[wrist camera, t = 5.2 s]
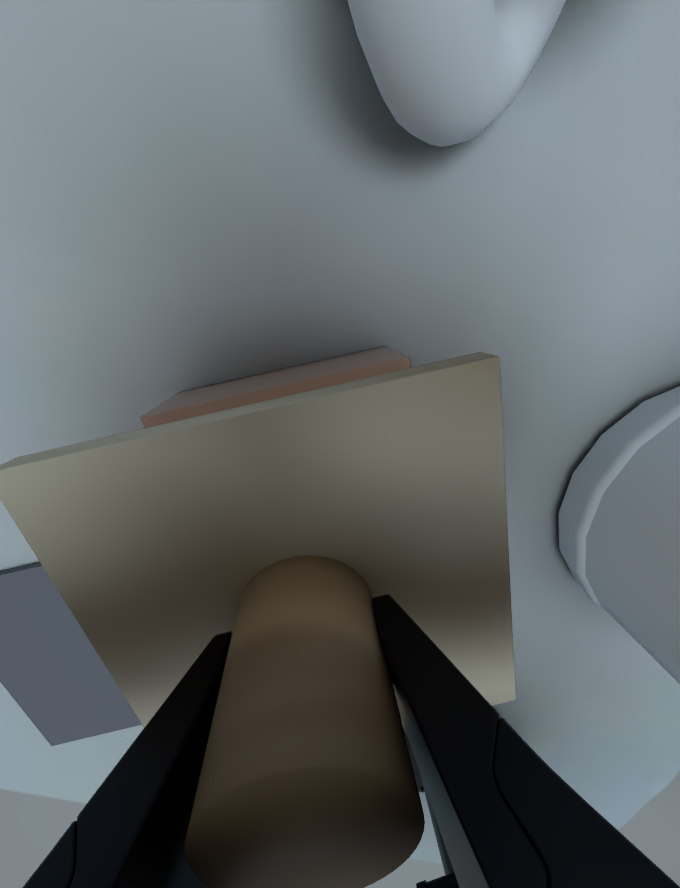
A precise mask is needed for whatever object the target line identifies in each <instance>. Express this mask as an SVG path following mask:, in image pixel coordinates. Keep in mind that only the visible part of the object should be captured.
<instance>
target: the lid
mask: <svg viewBox="0 0 680 888" xmlns="http://www.w3.org/2000/svg"><path fill="white" fill-rule="evenodd" d="M0 499H1V501H2V502H3V504H4V506H5V507H6V509H7V510H8V512H9V514H10V515H11V517H12V518H13V520H14V522H15V523H16V525H17V526H18V528H19V529H20V531H21V533H22V534H23V536H24V537H25V539H26V541H27V542H28V544H29V545H30V547H31V549H32V550H33V552H34V553H35V555H36V557H37V558H38V560H39V561H40V563H41V564H42V566H43V568H44V569H45V571H46V572H47V574H48V576H49V577H50V579H51V580H52V582H53V584H54V585H55V587H56V588H57V590H58V591H59V593H60V595H61V596H62V598H63V599H64V601H65V603H66V604H67V606H68V607H69V609H70V611H71V612H72V614H73V615H74V617H75V618H76V620H77V622H78V623H79V625H80V626H81V628H82V630H83V631H84V633H85V634H86V636H87V638H88V639H89V641H90V642H91V644H92V646H93V647H94V649H95V650H96V652H97V653H98V655H99V657H100V658H101V660H102V661H103V663H104V665H105V666H106V668H107V669H108V671H109V673H110V674H111V676H112V677H113V679H114V680H115V682H116V684H117V685H118V687H119V688H120V690H121V692H122V693H123V695H124V696H125V698H126V700H127V701H128V703H129V704H130V706H131V707H132V709H133V711H134V712H135V714H136V715H137V717H138V719H139V720H140V722H141V723H142V725H143V727H144V728H145V727H146V725H147V724H148V723H149V721H150V720H151V719H152V717H153V716H154V715H155V713H156V712H157V711H158V709H159V708H160V707H161V705H162V704H163V703H164V701H165V700H166V699H167V697H168V696H169V695H170V693H171V692H172V691H173V690H174V688H175V687H176V686H177V684H178V683H179V682H180V680H181V679H182V678H183V676H184V675H185V674H186V672H187V671H188V670H189V668H190V667H191V666H192V664H193V663H194V662H195V660H196V659H197V658H198V657H199V655H200V654H201V653H202V651H203V650H204V649H205V647H206V646H207V645H208V643H209V642H210V641H211V639H212V638H213V637H214V636H215V635H217V634H221V633H225V632H229V631H233V633H232V637H231V641H230V646H229V650H228V655H227V659H226V663H225V668H224V672H223V677H222V681H221V685H220V690H219V694H218V699H217V703H216V707H215V712H214V716H213V721H212V725H211V729H210V734H209V738H208V743H207V747H206V751H205V756H204V760H203V765H202V769H201V773H200V778H199V782H198V786H197V791H196V795H195V800H194V804H193V808H192V813H191V817H190V822H189V826H188V830H187V835H186V840H185V845H184V847H185V857H186V860H187V863H188V865H189V867H190V868H191V870H192V872H193V873H194V874H195V875H196V876H197V877H198V878H199V879H200V880H201V881H202V882H204V883H205V884H206V885H208V886H209V887H211V888H364V887H366V886H368V885H371V884H372V883H374V882H376V881H378V880H380V879H382V878H384V877H385V876H387V875H388V874H390V873H391V872H393V871H394V870H395V869H396V868H398V867H399V866H400V865H401V864H403V863H404V862H405V861H406V860H407V859H408V858H409V857H410V855H411V854H412V853H413V852H414V850H415V849H416V847H417V846H418V844H419V842H420V840H421V837H422V835H423V832H424V824H425V821H424V813H423V809H422V805H421V800H420V796H419V792H418V788H417V784H416V779H415V775H414V771H413V767H412V763H411V758H410V754H409V750H408V746H407V741H406V737H405V733H404V729H403V727H404V726H403V723H402V720H401V716H400V712H399V708H398V704H397V699H396V695H395V691H394V687H393V682H392V678H391V674H390V671H389V667H388V664H387V660H386V657H385V653H384V649H383V645H382V640H381V636H380V632H379V628H378V623H377V619H376V615H375V611H374V606H373V602H372V599H373V598H374V597H377V596H381V595H385V594H389V595H390V596H392V597H393V599H394V600H395V601H396V602H397V603H398V604H399V605H400V606H401V607H402V608H403V609H404V611H405V612H406V613H407V614H408V615H409V616H410V617H411V618H412V619H413V620H414V622H415V623H416V624H417V625H418V626H419V627H420V628H421V629H422V630H423V631H424V632H425V634H426V635H427V636H428V637H429V638H430V639H431V640H432V641H433V642H434V643H435V644H436V646H437V647H438V648H439V649H440V650H441V651H442V652H443V653H444V654H445V655H446V656H447V658H448V659H449V660H450V661H451V662H452V663H453V664H454V665H455V666H456V667H457V668H458V670H459V671H460V672H461V673H462V674H463V675H464V676H465V677H466V678H467V679H468V680H469V682H470V683H471V684H472V685H473V686H474V687H475V688H476V689H477V690H478V691H479V692H480V694H481V695H482V696H483V697H484V698H485V699H486V700H487V701H488V702H489V703H490V704H491V706H494V705H498V704H502V703H506V702H510V701H514V700H516V697H515V676H514V655H513V634H512V613H511V592H510V571H509V550H508V529H507V508H506V487H505V466H504V445H503V424H502V403H501V382H500V361H499V356H496V355H491V354H487V353H482V352H478V353H474V354H470V355H465V356H461V357H456V358H452V359H448V360H443V361H439V362H434V363H430V364H426V365H421V366H417V367H412V368H408V369H404V370H399V371H395V372H390V373H386V374H382V375H377V376H373V377H368V378H364V379H360V380H355V381H351V382H346V383H342V384H338V385H333V386H329V387H324V388H320V389H316V390H311V391H307V392H302V393H298V394H294V395H289V396H285V397H280V398H276V399H272V400H267V401H263V402H258V403H254V404H250V405H245V406H241V407H236V408H232V409H228V410H223V411H219V412H214V413H210V414H206V415H201V416H197V417H192V418H188V419H184V420H179V421H175V422H170V423H166V424H162V425H157V426H153V427H148V428H144V429H140V430H135V431H131V432H126V433H122V434H118V435H113V436H109V437H105V438H100V439H96V440H91V441H87V442H83V443H78V444H74V445H69V446H65V447H61V448H56V449H52V450H47V451H43V452H39V453H34V454H30V455H25V456H21V457H17V458H14V459H12V460H10V461H8V462H6V463H4V464H2V465H0Z"/></svg>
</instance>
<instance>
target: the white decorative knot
mask: <svg viewBox="0 0 680 888" xmlns="http://www.w3.org/2000/svg"><path fill="white" fill-rule="evenodd" d="M565 2H566V0H348V4H349V8H350V11H351V15H352V19H353V22H354V26H355V30H356V33H357V36H358V38H359V41H360V44H361V46H362V49H363V51H364V54H365V57H366V59H367V62H368V64H369V67H370V70H371V72H372V75H373V77H374V79H375V82H376V84H377V86H378V89H379V91H380V94H381V96H382V98H383V100H384V101H385V103H386V105H387V106H388V108H389V110H390V111H391V113H392V115H393V116H394V118H395V120H396V121H397V123H398V124H400V125H401V126H402V127H403V128H404V129H405V130H407V131H408V132H409V133H410V134H411V135H413V136H415V137H417V138H419V139H421V140H422V141H424V142H426V143H428V144H430V145H434V146H440V147H446V146H450V145H454V144H458V143H463V142H467V141H469V140H471V139H473V138H475V137H477V136H479V135H480V134H481V133H482V132H483V131H484V130H485V129H486V128H487V127H488V126H489V125H490V124H491V123H492V122H493V121H494V120H495V119H496V118H497V117H498V116H499V115H500V114H501V113H502V112H503V111H504V110H505V109H506V108H507V107H508V106H509V105H510V103H511V102H512V101H513V99H514V98H515V96H516V95H517V94H518V92H519V91H520V89H521V88H522V86H523V84H524V83H525V81H526V79H527V78H528V76H529V74H530V73H531V71H532V69H533V67H534V65H535V63H536V61H537V60H538V58H539V56H540V54H541V52H542V50H543V48H544V46H545V44H546V42H547V40H548V38H549V36H550V34H551V32H552V30H553V28H554V26H555V24H556V22H557V19H558V17H559V15H560V13H561V11H562V9H563V6H564V4H565Z"/></svg>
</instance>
